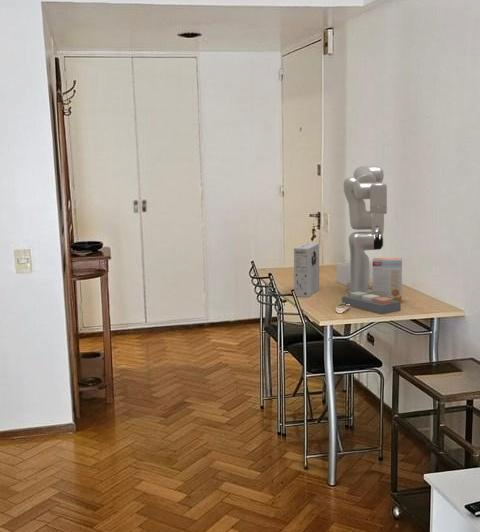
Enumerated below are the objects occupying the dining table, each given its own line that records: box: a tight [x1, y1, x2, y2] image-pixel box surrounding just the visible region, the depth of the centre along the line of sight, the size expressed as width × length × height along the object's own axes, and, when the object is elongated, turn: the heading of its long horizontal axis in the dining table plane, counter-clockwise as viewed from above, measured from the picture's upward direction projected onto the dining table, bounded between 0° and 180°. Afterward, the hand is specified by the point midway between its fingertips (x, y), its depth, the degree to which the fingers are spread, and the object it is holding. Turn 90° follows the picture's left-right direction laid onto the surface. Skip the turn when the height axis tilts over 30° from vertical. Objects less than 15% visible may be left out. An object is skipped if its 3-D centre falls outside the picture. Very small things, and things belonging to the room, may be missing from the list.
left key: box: [349, 292, 368, 298], centre depth 331 cm, size 6×6×2 cm
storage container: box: [336, 259, 373, 286], centre depth 386 cm, size 25×11×11 cm, turn 111°
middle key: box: [362, 293, 380, 301], centre depth 325 cm, size 6×6×2 cm
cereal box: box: [293, 242, 320, 298], centre depth 359 cm, size 22×8×25 cm, turn 159°
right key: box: [374, 297, 393, 304], centre depth 318 cm, size 6×6×2 cm
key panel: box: [341, 294, 402, 315], centre depth 325 cm, size 26×12×4 cm, turn 35°
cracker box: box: [371, 257, 403, 303], centre depth 337 cm, size 14×6×21 cm, turn 77°
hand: (378, 248), depth 317 cm, fingers open, 9 cm apart
